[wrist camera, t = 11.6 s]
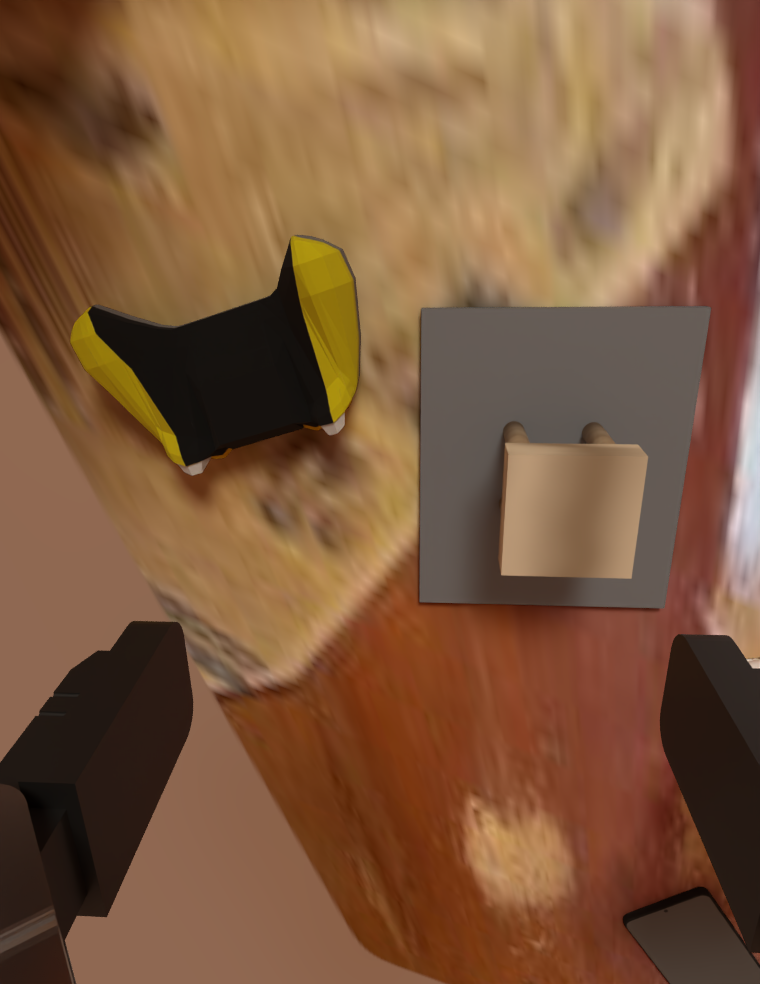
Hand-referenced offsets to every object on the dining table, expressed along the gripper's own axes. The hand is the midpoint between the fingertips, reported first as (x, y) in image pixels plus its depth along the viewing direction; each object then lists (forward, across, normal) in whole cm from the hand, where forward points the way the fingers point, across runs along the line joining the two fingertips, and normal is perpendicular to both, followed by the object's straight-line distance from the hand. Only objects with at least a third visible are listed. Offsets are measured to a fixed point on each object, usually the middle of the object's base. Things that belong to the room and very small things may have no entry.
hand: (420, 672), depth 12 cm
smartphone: (+30, -22, +48) cm, 61 cm away
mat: (+30, -7, +7) cm, 31 cm away
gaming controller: (+30, +10, +1) cm, 32 cm away
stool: (+29, -7, +7) cm, 31 cm away
